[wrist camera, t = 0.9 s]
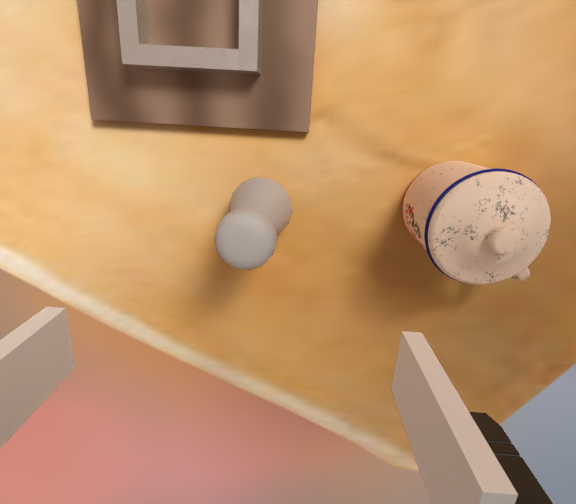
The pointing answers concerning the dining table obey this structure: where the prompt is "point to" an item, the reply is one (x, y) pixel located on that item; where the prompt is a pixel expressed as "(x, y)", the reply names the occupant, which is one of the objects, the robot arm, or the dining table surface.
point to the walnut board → (196, 84)
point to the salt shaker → (253, 223)
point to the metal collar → (183, 57)
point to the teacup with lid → (477, 221)
